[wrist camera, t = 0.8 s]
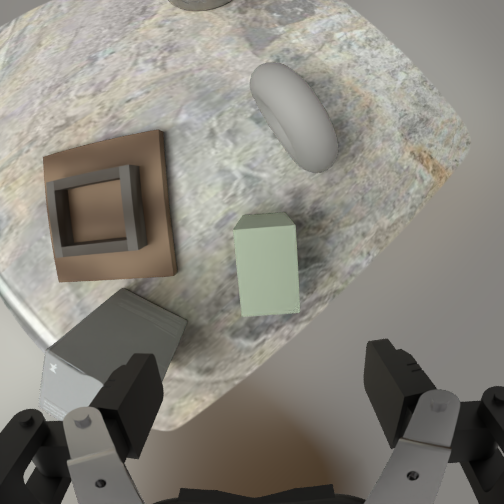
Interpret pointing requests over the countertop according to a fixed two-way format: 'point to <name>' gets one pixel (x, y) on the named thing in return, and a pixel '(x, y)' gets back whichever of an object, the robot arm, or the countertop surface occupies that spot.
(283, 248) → the keyed peg
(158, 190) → the keyed socket board
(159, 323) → the skincare box
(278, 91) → the donut
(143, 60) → the countertop surface
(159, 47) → the countertop surface
